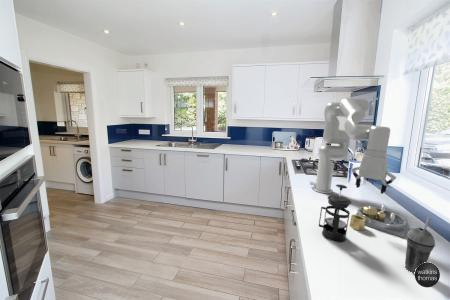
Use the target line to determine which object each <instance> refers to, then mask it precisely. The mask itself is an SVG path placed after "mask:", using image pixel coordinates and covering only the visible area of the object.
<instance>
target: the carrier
mask: <svg viewBox="0 0 450 300" xmlns="http://www.w3.org/2000/svg"><path fill="white" fill-rule="evenodd" d="M355 215H359V216H362V217H364V218H365V219H366V221H365V227H369V228H372V229H375V230H378V231H381V232H385V233H387V234H390V235H393V236H396V237H400V238H402V239H404V237H405V233H406V228H407V223H408V219H407V218H406V219H405V218H404V217H402V216H401V215H400V214H397V213H395V212H393V211H390V210H387V209H386V205H384V204H382V205H381V207H376V206H370V205H364V206H360V207H359V208H358V209H357V212H356V214H355Z"/></svg>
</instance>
